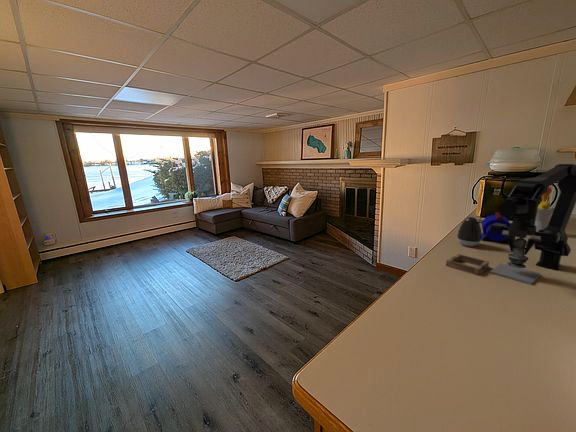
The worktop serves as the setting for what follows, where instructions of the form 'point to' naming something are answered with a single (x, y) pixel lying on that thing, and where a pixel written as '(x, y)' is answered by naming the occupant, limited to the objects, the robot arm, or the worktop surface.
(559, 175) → the robot arm
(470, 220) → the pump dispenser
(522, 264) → the salt shaker
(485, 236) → the alarm clock
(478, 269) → the walnut holder
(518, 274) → the slate coaster
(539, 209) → the lava lamp
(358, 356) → the worktop surface
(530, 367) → the worktop surface
